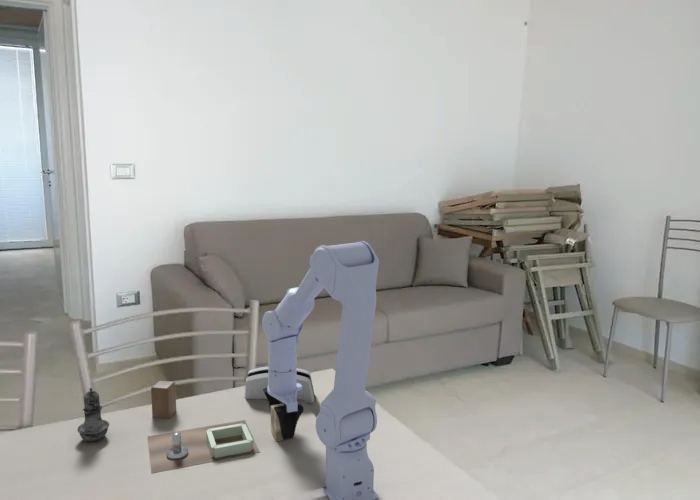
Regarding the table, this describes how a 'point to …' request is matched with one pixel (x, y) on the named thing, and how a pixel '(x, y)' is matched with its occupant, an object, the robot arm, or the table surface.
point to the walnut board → (190, 448)
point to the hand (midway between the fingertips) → (282, 429)
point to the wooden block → (163, 399)
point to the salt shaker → (92, 418)
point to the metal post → (176, 448)
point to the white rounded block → (259, 381)
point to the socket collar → (229, 447)
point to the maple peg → (276, 424)
